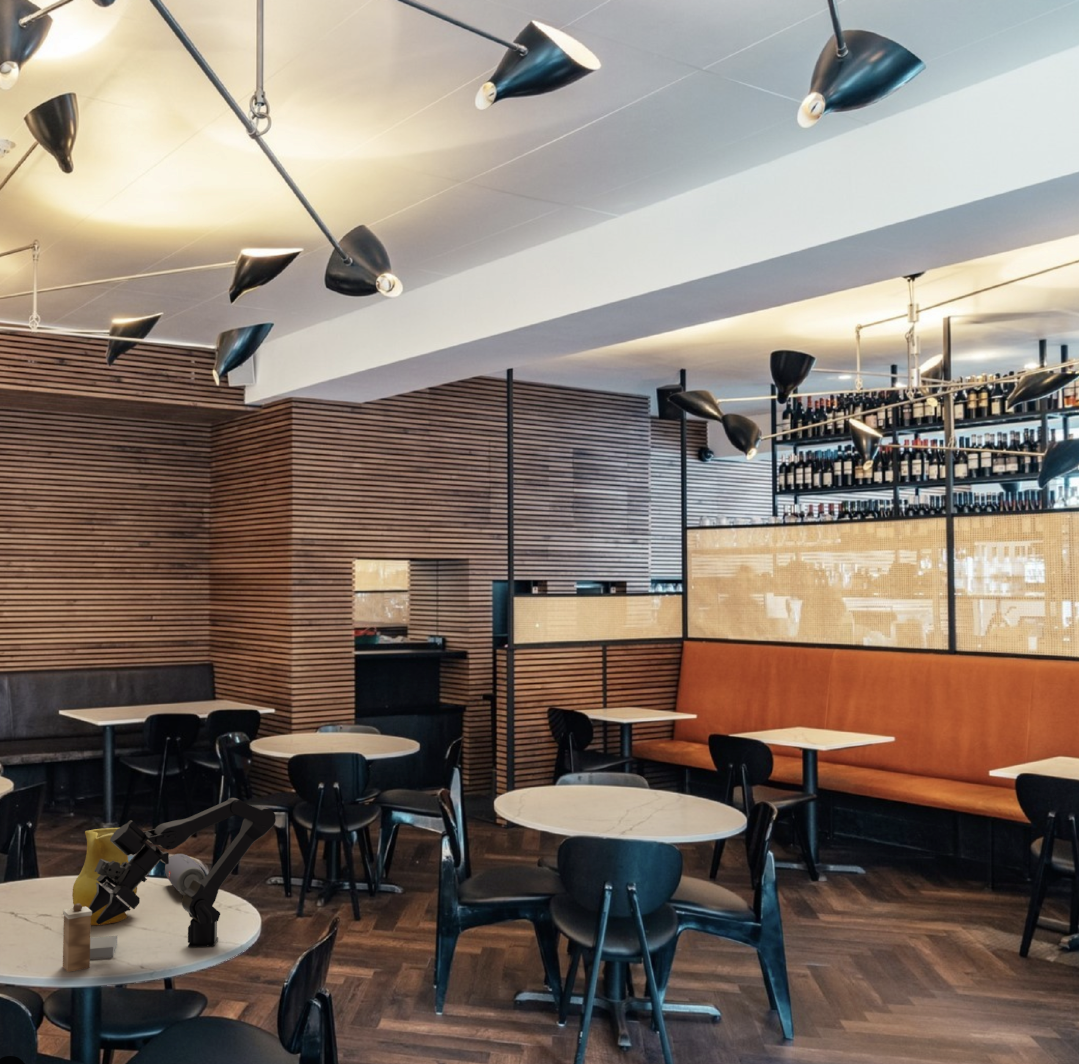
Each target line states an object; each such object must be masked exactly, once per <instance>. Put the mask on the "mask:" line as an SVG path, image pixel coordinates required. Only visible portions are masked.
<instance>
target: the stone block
mask: <svg viewBox="0 0 1079 1064" xmlns="http://www.w3.org/2000/svg"><path fill="white" fill-rule="evenodd" d="M118 937H119V936H118V935H107V936H106V935H105V936H104V935H103V936H95V937H94V936H92V937H91V936H90V960H95V959H96V960H97V959H111V958H114V956H115V953H116V950H117V947H118Z"/></svg>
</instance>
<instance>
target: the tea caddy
mask: <svg viewBox="0 0 1079 1064" xmlns="http://www.w3.org/2000/svg"><path fill="white" fill-rule="evenodd" d="M72 907H73V908H68V909H67V908H66V909H63V910H62V915H63V934H62V937H63V940H62V941H63V943H62V967H63V969H64V970H65V971H66V972H67V973H69V972H76V971H81V970H86V969H90V965H91V963H90V961H91V959H90V938H91V927H92V925H91V915H92V911H91V910H90V909H89V908H88V907H82V905H81V904H79V903H77V904H75V905H74V904H73V906H72Z"/></svg>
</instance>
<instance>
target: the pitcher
mask: <svg viewBox="0 0 1079 1064" xmlns="http://www.w3.org/2000/svg"><path fill="white" fill-rule="evenodd" d="M118 828H119V827H106V828H97V829H96V828H95V829H91V830H90V829H89V830H85V831H84V834H85V838H86V855H85V860H84V864H83V866H82V868H81V871H80V873H79V874H78V876H76V877H77V878H75V881H74V883H73V886H72V895H71V896H72V904H73V906H74V905H75V904H77V903H79V904H81V905H82V907H88V908H89V906H90V904H91V902H92V901H93V899H94V897H95V895H96V893H97V885H96V882H97V883H99V882H98V881H97V880H96V879H97V878H98V877H99V876H100V874H98V873H97V872H95V869H96V867H97V865H98V862H99V860H100V859H102V860H105V861H108V862H112V861H115V862H119V863H120V865H121V864H122V863H123V862H127V863H128V862H129V855H125V854H124V853H123V852H122V851H121V850H120V849H119V848H118V847H116V846H115V845H114V844H113V843H112V842H111V841H110V839H111V837H112V835H113V834H114V832H115V831H116V830H117V829H118ZM133 891H134V892H135V894H136V895H137V892H138V886H137V887H136V888H135V889H134V890H133ZM107 905H108V904H107ZM107 905H106V906H107ZM106 906H104V907H103V908H101V909H99V910H98V911H96V912H95V913H93V914H92V915H91V926H104V925H109V924H114V923H119V922H121V921H123V920H126V919H127V918H128V915H127V913H126V912H124V913H122V914H119V915H117V916H115V917H113V918H111V919H109V920H107V921H105V922H103V923H101V924H98V923H96V920H97V919H98V917H99V916H100V914H101V913H102V912H103V910H104V909H105V907H106ZM129 908H130V909H131V907H130V906H129Z"/></svg>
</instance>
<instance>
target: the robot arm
mask: <svg viewBox="0 0 1079 1064" xmlns="http://www.w3.org/2000/svg"><path fill="white" fill-rule="evenodd" d="M235 816H239V817H240V818H243V820H242V823H241V827H240V830H239V833H238V834H236V836H235V837H234V839H233V840H232V842H230V844H229V845H228V847H227V848H226V849H225V850H224V852H223V853H222V855H221V856H220V857H219V859H218V860H217V862H216V863H215V864H214V865H213V867H212V868H211V869H210V871H209V872H208V873H207V874H206V875H205V878H204V879H202V880H201V881H199V882H198V881H196V880H193V881H192V883H191V884H190V886H189V888H188V889H187V890H186V891H184V892H183V893H184V894H185V895H184V896H183V895H182V899H181V906H182V909H184V911H186V912H187V913H188V915H189V917H190V918H191V920H189V921H190V923H189V925H188V927H187V943H188V945H187V946H188V948H194V947H195V948H197V947H214V946H215V945H216V944H217V942H218V940H219V937H218V922H219V919H220V916H221V912H220V911H219V910H218V909H217V908H216V907H214V906H213V905H214V903H215V902H216V900H217V897H218V893H219V890H220V888H221V886H222V885H223V884H224V882H225V881H226V880H227V878H228V876H230V875H231V873H232V872H233V870H234V869H235V868H236V867H237V865H238V864H239V863H240V861H241V860H242V858H243V857H244V856H245V854H246V853H247V852H248V850H249V849H250V848H251V846H252V845H253V844H254V842H256V841H257V840H259V839H260V838H263V837H264V836H265V835H266V834H267V833H268V832H269V831H270V830H271V829H272V828H273V827H274V826H275V824H276V822H277V820H276V819H277V818H276V814H275V811H274V810H272V809H271V808H268V807H266V806H262V805H254V806H252V805H250V804H248V803H246V802H243V800H241V799H238V798H236V797H230V798H228V799H227V800H226V801H223V802H221V803H218V804H217V805H214V806H212V807H209V808H208V809H205V810H203V811H201V812H199V813H196V814H193V815H192V816H189V817H187V818H183V819H177V820H172V821H168V822H163V823H161V824H159V825H157V826H156V827H155V828H153V829H149V830H146V831H143V830H142V829H141V828H139V826H138V825H137V823H135V822H134V821H133V820H129V821H128V822H127V823H125V824H123V825H121V826H120V827H117V828H118V829H117V830H116V831H115V832H114V834H113V835H112V837H111V839H110V841H111V842H112V843H113V844H114V845H115V846H116V847H118V848H119V849H120V850H121V851H122V852H123V853H124V854H125V855H128V856H130V855H132V857H131V859H130V860H128V863H127V862H123V863H122V864H121V865H120V863H119V862H115V861H112V862H108V861H105V860H102V859H100V860H99V862H98V865H97V867H96V869H95V872H97V873H98V874H100V876H99V877H98V878H97V879H96V880H97V881H98V882H99V883H97V882H96V885H97V893H96V895H95V897H94V899H93V901H92V902H91V904H90V906H89V909H90V910H91V911H92V914H93V913H95V912H96V911H98V910H99V909H101V908H103V907H104V906H106V905H107V904H108V905H107V906H106V907H105V909H104V910H103V912H102V913H101V914H100V916H99V917H98V919H97V920H96V923H98V924H101V923H103V922H105V921H107V920H109V919H111V918H113V917H115V916H117V915H119V914H122V913H124V912H125V913H126V912H130V911H131V909H133V910H135V909H136V908H137V907H138V905H140V899H141V898H140V896H138V895H137V893H136V894H135V892H134V891H133V890H134V889H135V888H136V887H137V888H138V887H139V885H140V884H141V882H143V883H145V882H146V881H147V880H148V878H146V877H147V876H148V875H149V874H150V873H151V872H152V871H153V869H154V868H155V867H156V866H157V865H158V864H159V863H160V862H162V863H164V864H165V865H166V864H169V858H170V857H169V856H170V854H169V853H170V852H168V851H169V850H170V851H171V850H175V849H176V848H177V847H179V846H180V845H183V844H184V843H185V842H187V841H188V839H190V837H191V836H193V835H194V834H196V833H198V832H200V831H203V830H206V829H207V828H209V827H212V826H214V825H216V824H218V823H220V822H222V821H225V820H227V819H229V818H231V817H235ZM147 842H149V843H151V844H152V846H150V845H149V844H148V843H147ZM157 845H158V846H159V847H161V848H162V849H165V850H168V851H162V850H161V849H159V847H158V846H157ZM129 906H130V908H129Z"/></svg>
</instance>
